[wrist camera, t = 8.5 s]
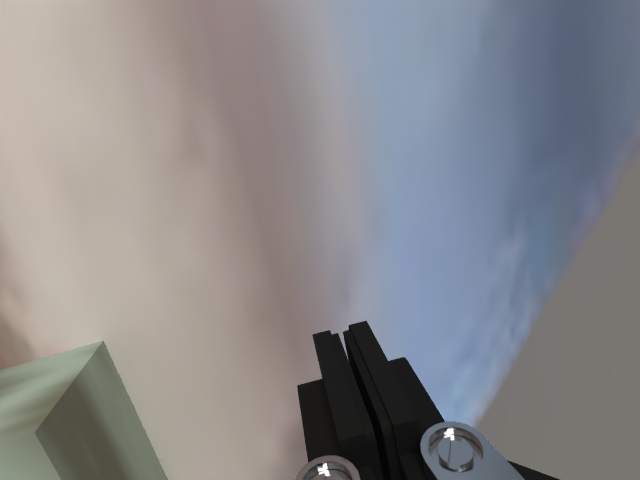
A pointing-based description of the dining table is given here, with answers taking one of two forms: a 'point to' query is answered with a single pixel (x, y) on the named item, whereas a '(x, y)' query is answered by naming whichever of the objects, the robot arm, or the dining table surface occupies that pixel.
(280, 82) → the dining table surface
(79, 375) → the block
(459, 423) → the robot arm
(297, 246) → the dining table surface
